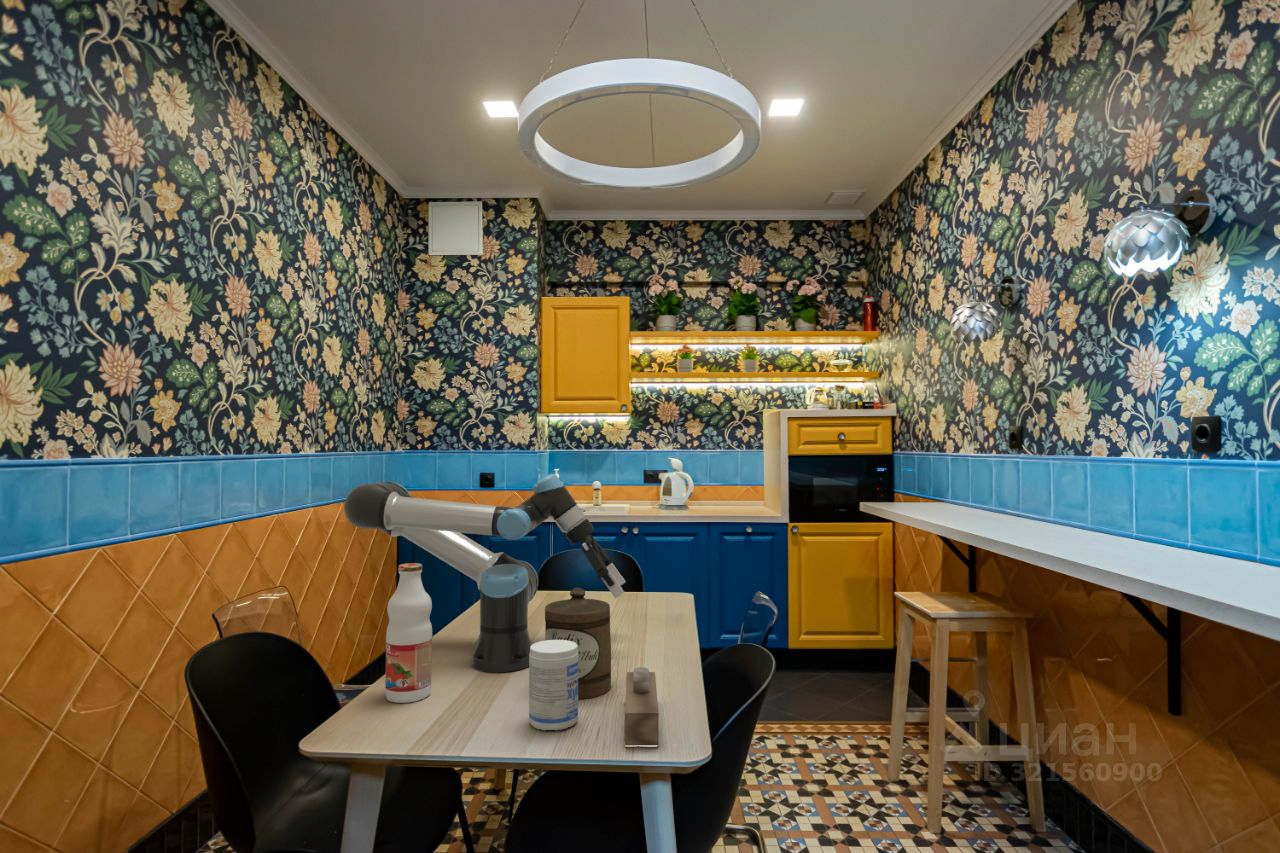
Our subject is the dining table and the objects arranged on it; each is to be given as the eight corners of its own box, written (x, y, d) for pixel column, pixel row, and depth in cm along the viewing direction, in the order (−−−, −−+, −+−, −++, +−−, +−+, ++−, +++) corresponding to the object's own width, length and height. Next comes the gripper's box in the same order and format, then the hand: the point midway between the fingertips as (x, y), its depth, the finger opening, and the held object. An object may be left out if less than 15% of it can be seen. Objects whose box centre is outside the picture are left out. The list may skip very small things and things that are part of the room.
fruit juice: (437, 697, 140) (439, 565, 141) (391, 707, 134) (393, 570, 136) (423, 685, 148) (425, 559, 149) (380, 693, 142) (382, 563, 143)
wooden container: (532, 694, 142) (532, 592, 143) (562, 673, 156) (563, 580, 157) (594, 703, 137) (595, 597, 138) (620, 680, 151) (621, 584, 152)
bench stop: (624, 747, 116) (624, 690, 117) (626, 700, 138) (626, 652, 139) (658, 747, 116) (658, 690, 117) (655, 700, 138) (655, 652, 139)
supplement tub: (579, 731, 123) (579, 652, 124) (527, 734, 122) (528, 654, 122) (577, 711, 133) (577, 637, 133) (529, 713, 131) (530, 639, 132)
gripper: (582, 522, 165) (631, 591, 165) (590, 513, 190) (632, 573, 190) (558, 540, 165) (607, 609, 165) (569, 528, 190) (611, 588, 189)
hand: (620, 589), depth 177 cm, fingers open, 13 cm apart
